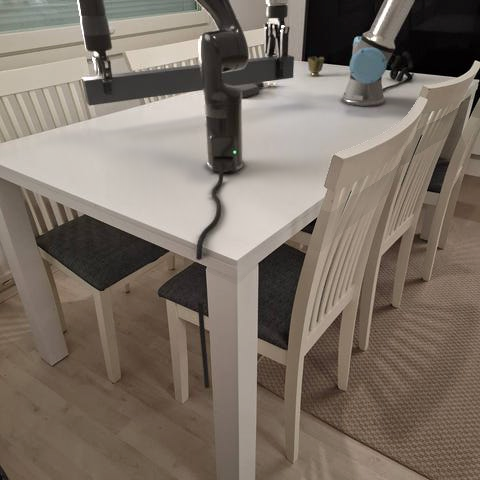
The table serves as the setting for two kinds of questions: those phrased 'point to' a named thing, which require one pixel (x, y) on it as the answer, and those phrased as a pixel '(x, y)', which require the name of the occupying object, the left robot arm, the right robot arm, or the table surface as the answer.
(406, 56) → the squiggle
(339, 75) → the table surface
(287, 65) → the bar
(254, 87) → the spray bottle
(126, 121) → the table surface
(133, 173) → the table surface
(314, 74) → the cup
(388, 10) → the right robot arm
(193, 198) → the table surface
